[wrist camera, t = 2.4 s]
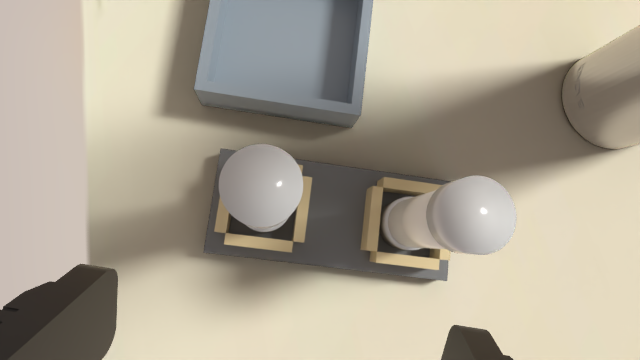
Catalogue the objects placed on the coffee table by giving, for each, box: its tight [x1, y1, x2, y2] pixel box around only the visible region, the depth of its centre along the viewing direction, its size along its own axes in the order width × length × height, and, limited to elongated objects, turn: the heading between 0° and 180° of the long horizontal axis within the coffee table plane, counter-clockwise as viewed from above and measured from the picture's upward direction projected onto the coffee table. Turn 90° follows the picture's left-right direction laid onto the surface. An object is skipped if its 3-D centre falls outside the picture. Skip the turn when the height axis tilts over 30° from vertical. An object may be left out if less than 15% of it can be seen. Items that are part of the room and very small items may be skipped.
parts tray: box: [194, 0, 373, 128], centre depth 33 cm, size 13×13×4 cm
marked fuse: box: [219, 144, 303, 232], centre depth 25 cm, size 4×4×12 cm
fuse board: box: [204, 149, 451, 281], centre depth 31 cm, size 19×8×4 cm, turn 83°
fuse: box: [379, 175, 516, 255], centre depth 26 cm, size 4×4×12 cm
